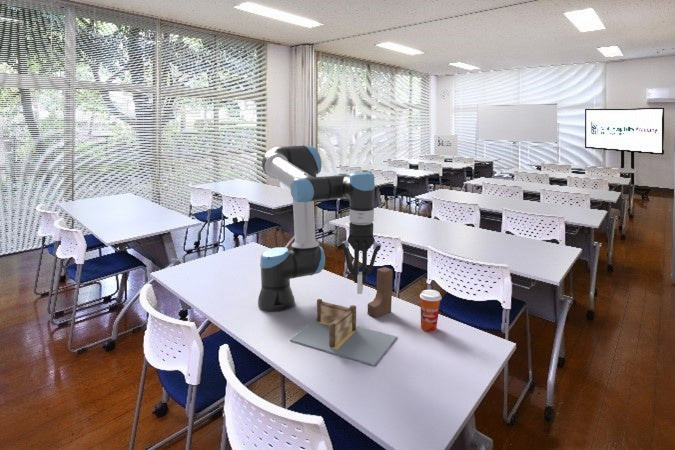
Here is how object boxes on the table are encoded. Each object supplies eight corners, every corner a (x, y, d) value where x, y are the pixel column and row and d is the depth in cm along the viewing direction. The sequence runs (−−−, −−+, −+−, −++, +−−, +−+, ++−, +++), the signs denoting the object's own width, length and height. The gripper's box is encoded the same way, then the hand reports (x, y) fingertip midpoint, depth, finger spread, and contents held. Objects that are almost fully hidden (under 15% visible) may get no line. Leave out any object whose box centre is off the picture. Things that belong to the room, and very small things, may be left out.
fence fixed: (315, 321, 157) (315, 299, 155) (319, 318, 159) (318, 297, 157) (354, 331, 150) (354, 308, 148) (357, 328, 152) (357, 306, 150)
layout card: (289, 341, 144) (289, 339, 144) (319, 317, 161) (319, 316, 161) (374, 366, 130) (374, 364, 130) (396, 337, 147) (396, 336, 147)
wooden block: (374, 318, 161) (375, 274, 157) (367, 313, 165) (367, 271, 160) (391, 312, 166) (393, 269, 162) (384, 308, 170) (385, 266, 165)
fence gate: (348, 329, 151) (348, 309, 149) (353, 330, 150) (353, 310, 148) (328, 346, 139) (328, 324, 138) (333, 347, 138) (333, 326, 136)
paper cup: (416, 331, 151) (418, 295, 148) (420, 321, 158) (422, 287, 155) (437, 335, 148) (440, 299, 145) (441, 325, 155) (443, 291, 152)
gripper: (338, 224, 127) (338, 295, 133) (381, 226, 124) (379, 298, 130) (342, 218, 134) (342, 286, 140) (383, 220, 132) (380, 289, 138)
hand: (359, 292), depth 135 cm, fingers closed
